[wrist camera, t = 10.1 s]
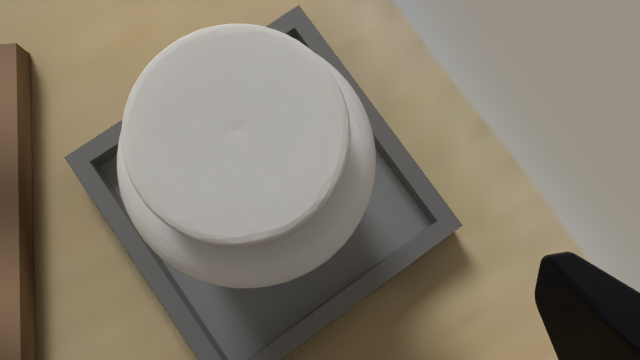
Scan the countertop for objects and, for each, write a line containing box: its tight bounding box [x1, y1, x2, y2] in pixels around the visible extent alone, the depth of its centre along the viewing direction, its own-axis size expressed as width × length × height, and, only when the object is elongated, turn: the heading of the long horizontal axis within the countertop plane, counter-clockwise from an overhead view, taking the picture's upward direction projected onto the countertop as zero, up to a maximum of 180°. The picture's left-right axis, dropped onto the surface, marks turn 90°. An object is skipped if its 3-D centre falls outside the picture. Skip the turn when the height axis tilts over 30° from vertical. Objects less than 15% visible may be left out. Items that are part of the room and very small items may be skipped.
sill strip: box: [0, 43, 36, 360], centre depth 19 cm, size 12×1×1 cm, turn 6°
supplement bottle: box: [117, 24, 376, 289], centre depth 14 cm, size 6×6×10 cm
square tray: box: [64, 5, 462, 360], centre depth 19 cm, size 10×10×1 cm
